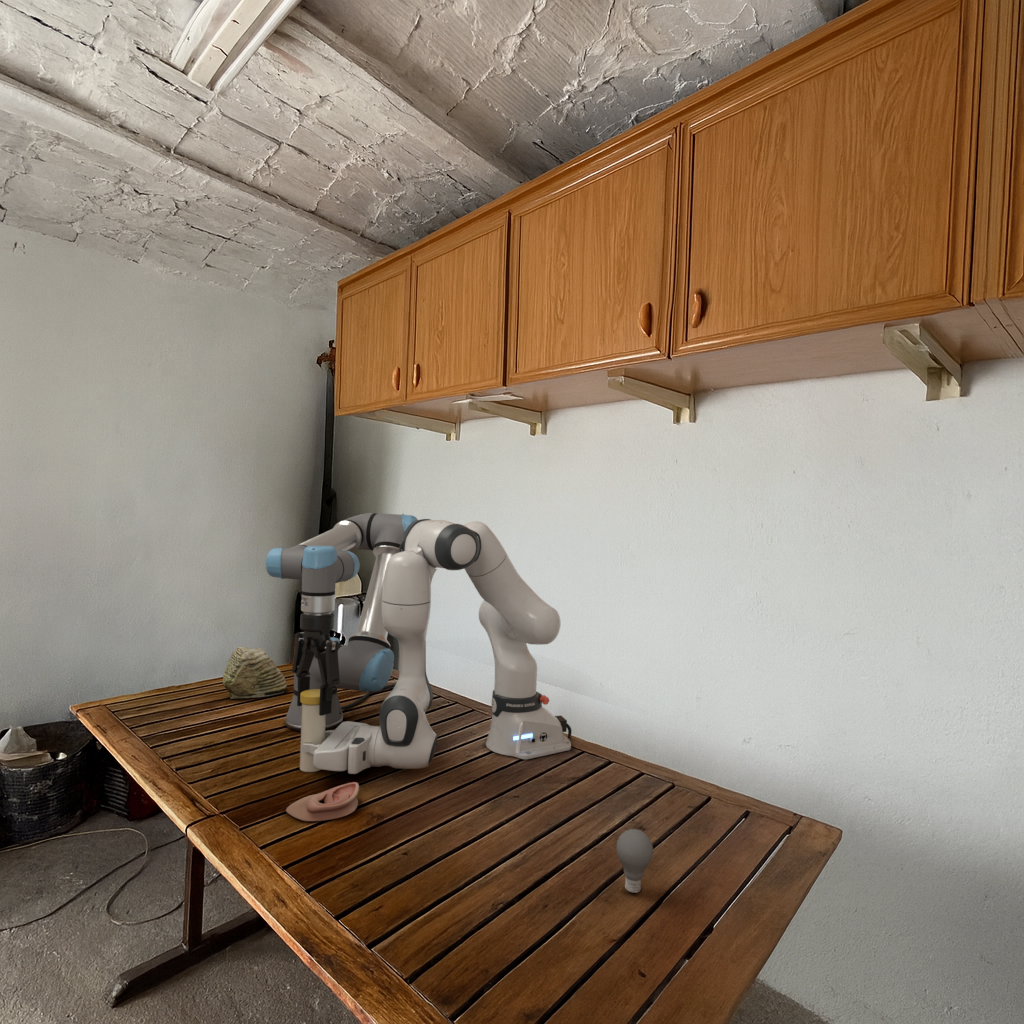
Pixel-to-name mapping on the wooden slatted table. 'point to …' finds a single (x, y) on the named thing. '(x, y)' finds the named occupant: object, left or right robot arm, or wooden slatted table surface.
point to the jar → (311, 734)
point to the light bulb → (634, 857)
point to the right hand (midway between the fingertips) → (308, 741)
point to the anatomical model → (326, 804)
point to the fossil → (252, 674)
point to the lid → (310, 697)
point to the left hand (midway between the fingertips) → (313, 709)
